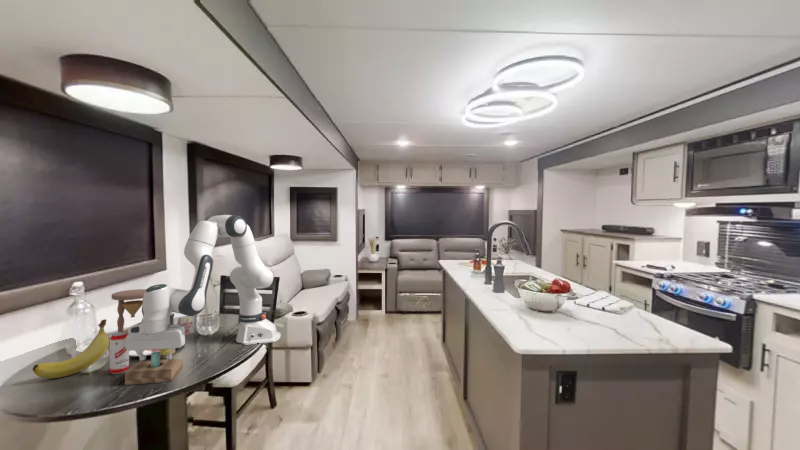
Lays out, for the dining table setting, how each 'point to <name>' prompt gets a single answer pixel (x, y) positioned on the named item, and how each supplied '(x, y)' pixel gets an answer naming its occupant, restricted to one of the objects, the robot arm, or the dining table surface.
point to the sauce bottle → (166, 351)
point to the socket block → (154, 372)
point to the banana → (76, 358)
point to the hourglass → (128, 304)
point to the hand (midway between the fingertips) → (156, 359)
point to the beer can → (118, 353)
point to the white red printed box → (186, 324)
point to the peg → (155, 359)
